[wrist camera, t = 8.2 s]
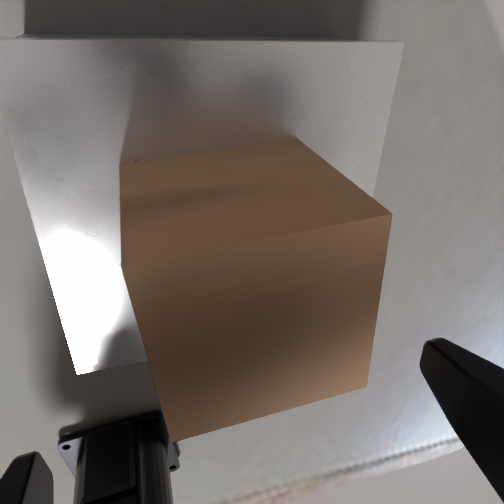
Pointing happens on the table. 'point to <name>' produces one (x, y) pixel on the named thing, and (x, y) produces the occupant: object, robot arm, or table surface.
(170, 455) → the robot arm
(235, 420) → the walnut block
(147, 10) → the table surface
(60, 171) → the slate tin
